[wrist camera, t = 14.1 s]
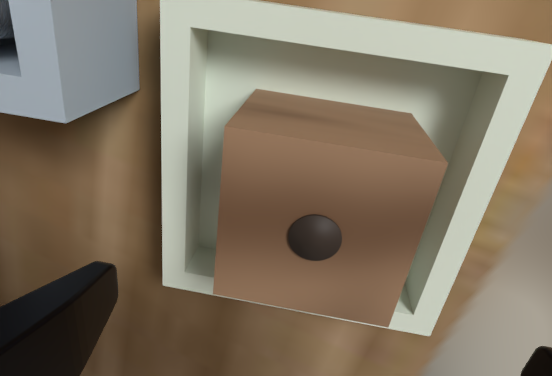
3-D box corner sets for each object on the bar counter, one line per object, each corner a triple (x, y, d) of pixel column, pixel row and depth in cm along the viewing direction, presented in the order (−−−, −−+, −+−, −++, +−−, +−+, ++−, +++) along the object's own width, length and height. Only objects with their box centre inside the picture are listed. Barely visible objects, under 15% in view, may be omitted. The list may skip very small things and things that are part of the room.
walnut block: (372, 242, 17) (388, 329, 13) (242, 219, 17) (212, 296, 13) (411, 113, 14) (449, 164, 10) (256, 88, 15) (223, 127, 10)
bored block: (139, 89, 16) (66, 123, 11) (4, 67, 16) (-118, 92, 12) (133, -83, 13) (34, -126, 9) (-28, -105, 14) (-203, -157, 9)
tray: (417, 295, 19) (429, 336, 16) (182, 251, 19) (162, 285, 17) (518, 38, 13) (557, 45, 11) (187, -10, 14) (159, -13, 12)
